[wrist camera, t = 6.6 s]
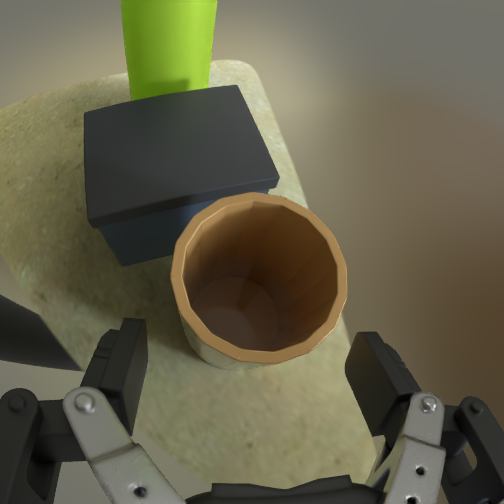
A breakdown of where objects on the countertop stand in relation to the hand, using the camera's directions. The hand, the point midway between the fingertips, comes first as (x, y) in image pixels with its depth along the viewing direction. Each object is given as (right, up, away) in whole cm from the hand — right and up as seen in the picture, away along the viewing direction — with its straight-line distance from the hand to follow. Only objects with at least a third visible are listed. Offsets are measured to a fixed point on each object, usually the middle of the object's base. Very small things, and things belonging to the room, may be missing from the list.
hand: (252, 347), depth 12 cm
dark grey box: (-5, +7, +10) cm, 13 cm away
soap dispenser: (-7, +14, +13) cm, 20 cm away
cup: (-1, -1, +8) cm, 8 cm away
